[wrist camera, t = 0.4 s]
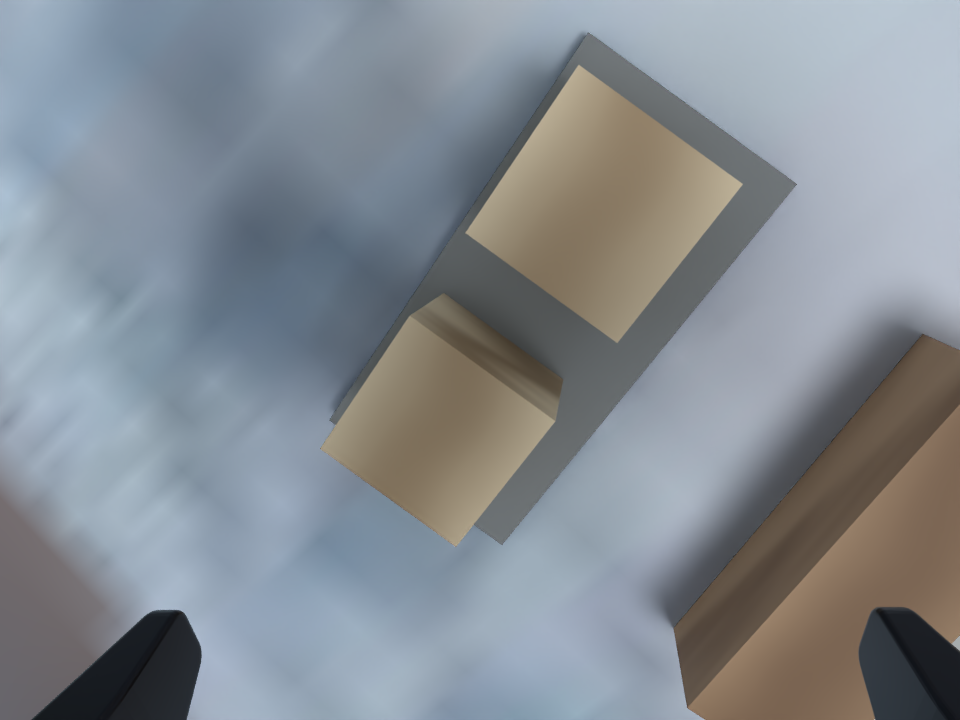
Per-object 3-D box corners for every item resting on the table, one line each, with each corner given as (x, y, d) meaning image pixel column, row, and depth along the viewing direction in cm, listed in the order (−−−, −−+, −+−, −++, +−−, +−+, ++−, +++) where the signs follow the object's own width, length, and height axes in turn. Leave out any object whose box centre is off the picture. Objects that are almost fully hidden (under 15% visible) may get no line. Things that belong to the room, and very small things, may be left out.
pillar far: (563, 379, 21) (555, 421, 17) (480, 486, 23) (455, 546, 19) (443, 293, 21) (409, 315, 17) (367, 404, 23) (320, 448, 19)
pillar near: (714, 185, 19) (743, 184, 15) (613, 314, 21) (617, 342, 17) (582, 89, 19) (578, 64, 15) (490, 224, 21) (465, 233, 17)
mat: (790, 184, 20) (796, 184, 19) (504, 536, 24) (501, 545, 23) (588, 36, 19) (588, 32, 19) (335, 414, 23) (329, 420, 23)
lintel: (1037, 406, 20) (1140, 458, 16) (773, 688, 24) (807, 785, 20) (918, 332, 20) (994, 365, 16) (672, 623, 24) (687, 708, 20)
